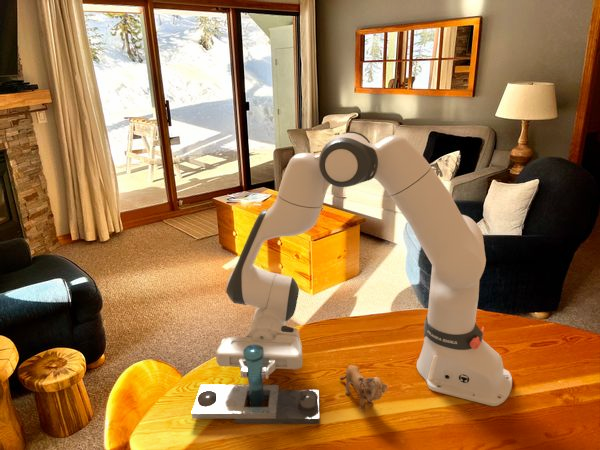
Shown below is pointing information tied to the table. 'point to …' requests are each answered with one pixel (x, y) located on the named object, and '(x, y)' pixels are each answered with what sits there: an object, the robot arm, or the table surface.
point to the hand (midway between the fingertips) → (254, 375)
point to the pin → (255, 373)
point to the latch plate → (279, 411)
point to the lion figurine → (364, 386)
